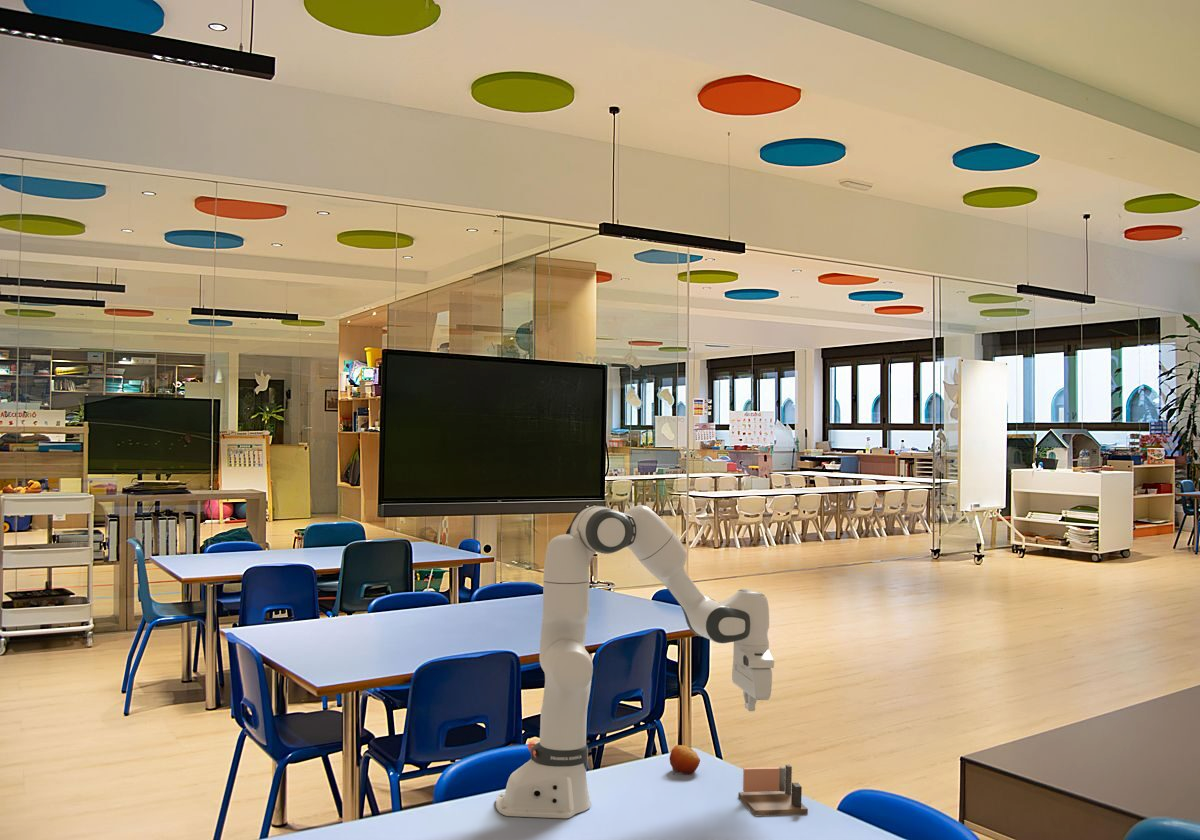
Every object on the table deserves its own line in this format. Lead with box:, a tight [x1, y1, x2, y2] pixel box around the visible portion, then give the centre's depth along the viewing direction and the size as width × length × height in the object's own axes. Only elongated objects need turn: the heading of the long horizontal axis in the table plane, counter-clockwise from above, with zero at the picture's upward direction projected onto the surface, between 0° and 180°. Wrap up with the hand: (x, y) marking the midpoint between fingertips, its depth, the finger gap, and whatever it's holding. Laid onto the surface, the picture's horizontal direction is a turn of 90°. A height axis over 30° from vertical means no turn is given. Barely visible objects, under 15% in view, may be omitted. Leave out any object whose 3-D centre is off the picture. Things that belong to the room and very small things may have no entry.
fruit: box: [669, 744, 701, 775], centre depth 256 cm, size 8×8×8 cm
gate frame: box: [738, 764, 809, 816], centre depth 232 cm, size 13×13×8 cm
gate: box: [742, 766, 786, 792], centre depth 236 cm, size 11×2×6 cm, turn 100°
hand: (749, 710), depth 242 cm, fingers closed
